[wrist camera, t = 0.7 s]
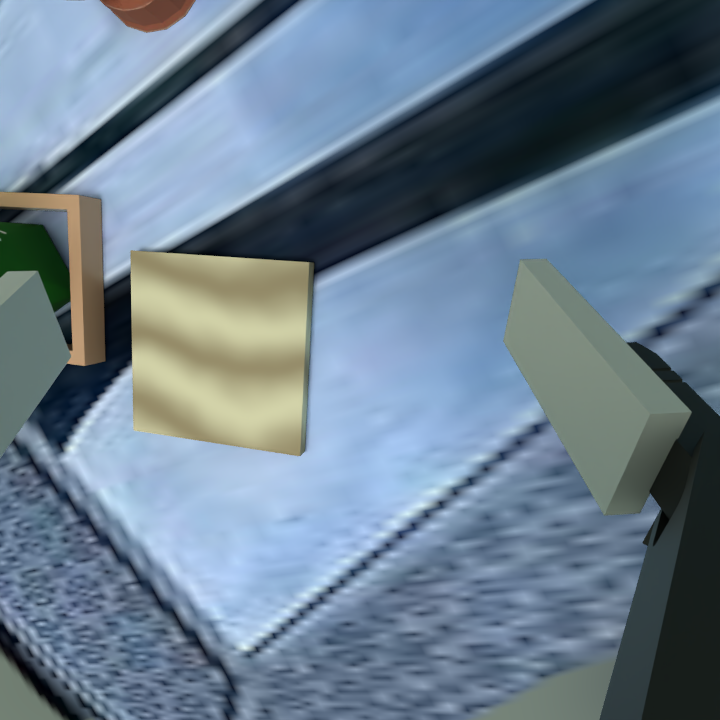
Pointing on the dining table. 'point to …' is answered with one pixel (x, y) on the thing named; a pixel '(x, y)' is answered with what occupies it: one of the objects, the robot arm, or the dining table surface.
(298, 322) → the board
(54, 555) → the dining table surface
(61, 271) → the green white milk carton
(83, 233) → the holder
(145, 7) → the lantern
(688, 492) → the robot arm
